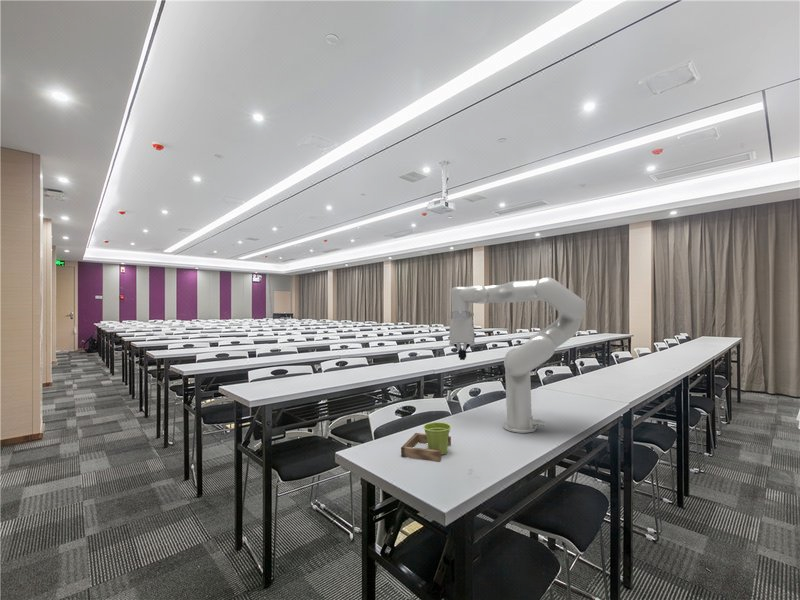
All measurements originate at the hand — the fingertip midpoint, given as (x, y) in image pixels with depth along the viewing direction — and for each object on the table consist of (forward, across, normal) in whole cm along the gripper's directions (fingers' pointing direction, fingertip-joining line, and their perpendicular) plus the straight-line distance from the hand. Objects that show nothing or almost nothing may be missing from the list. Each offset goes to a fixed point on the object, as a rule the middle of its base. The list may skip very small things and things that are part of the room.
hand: (462, 359), depth 152 cm
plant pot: (+27, +4, +32) cm, 42 cm away
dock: (+27, +8, +32) cm, 42 cm away
